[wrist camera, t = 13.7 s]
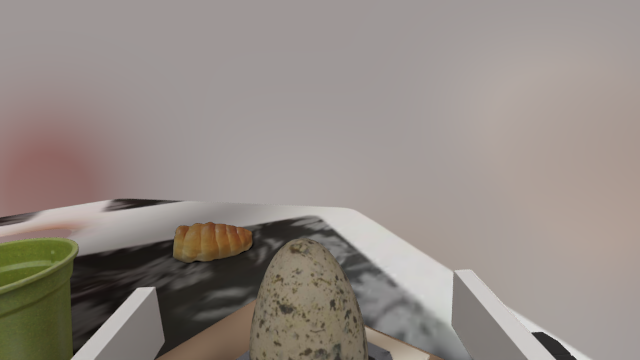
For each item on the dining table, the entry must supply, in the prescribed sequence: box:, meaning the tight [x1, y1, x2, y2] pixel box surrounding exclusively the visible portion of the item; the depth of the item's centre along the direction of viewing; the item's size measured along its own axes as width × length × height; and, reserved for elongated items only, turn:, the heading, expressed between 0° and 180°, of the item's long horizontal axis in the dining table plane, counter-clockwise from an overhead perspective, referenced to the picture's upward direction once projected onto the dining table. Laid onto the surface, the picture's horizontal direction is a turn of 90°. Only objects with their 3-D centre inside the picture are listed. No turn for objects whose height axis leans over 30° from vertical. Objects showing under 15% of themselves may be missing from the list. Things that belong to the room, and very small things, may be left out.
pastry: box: [173, 222, 253, 263], centre depth 43 cm, size 9×7×4 cm
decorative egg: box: [249, 238, 368, 360], centre depth 17 cm, size 6×6×10 cm
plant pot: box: [0, 237, 79, 360], centre depth 23 cm, size 9×9×9 cm
